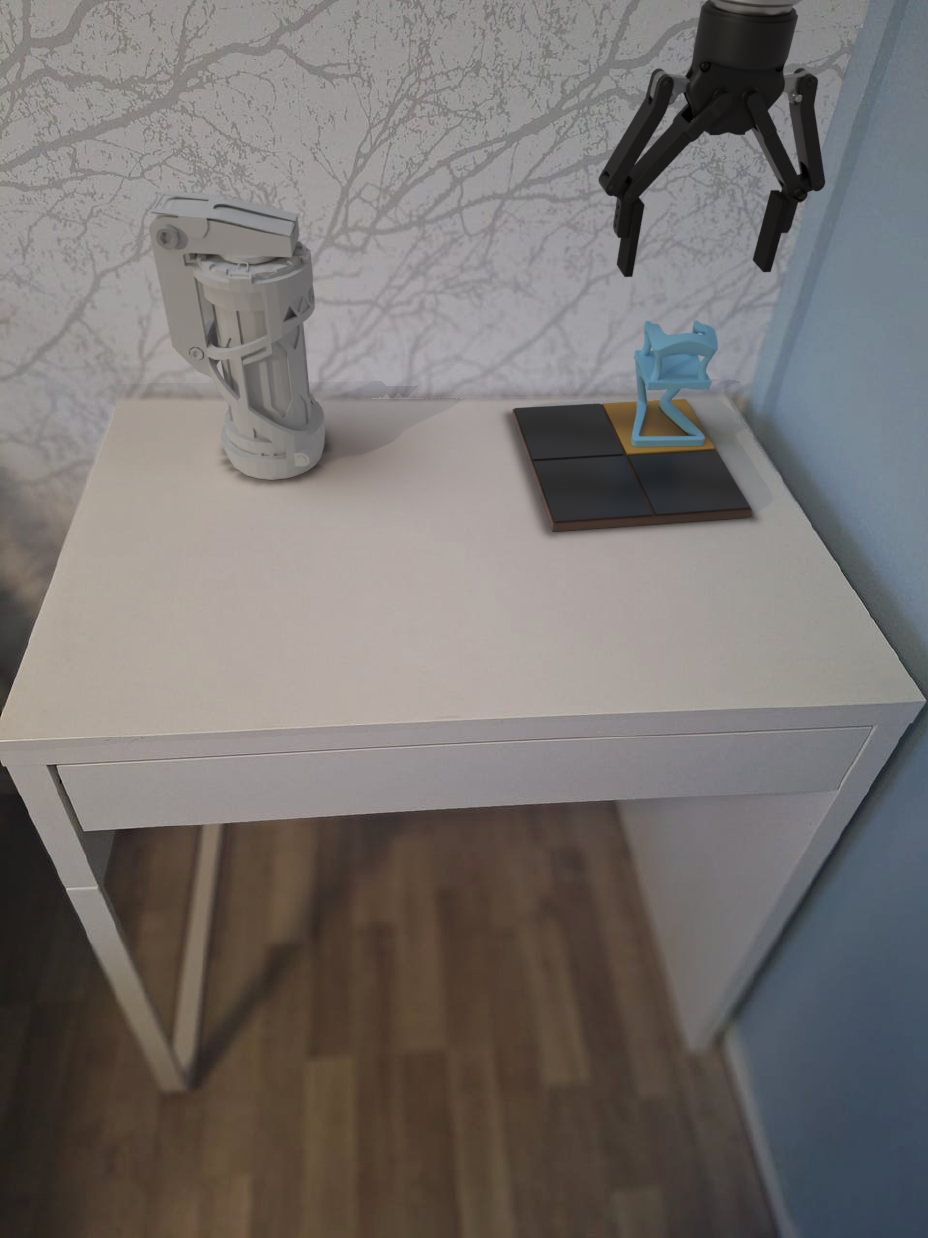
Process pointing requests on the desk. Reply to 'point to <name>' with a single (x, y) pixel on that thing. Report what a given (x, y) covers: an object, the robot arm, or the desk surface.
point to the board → (623, 468)
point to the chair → (672, 378)
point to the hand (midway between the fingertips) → (693, 268)
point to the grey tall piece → (243, 322)
